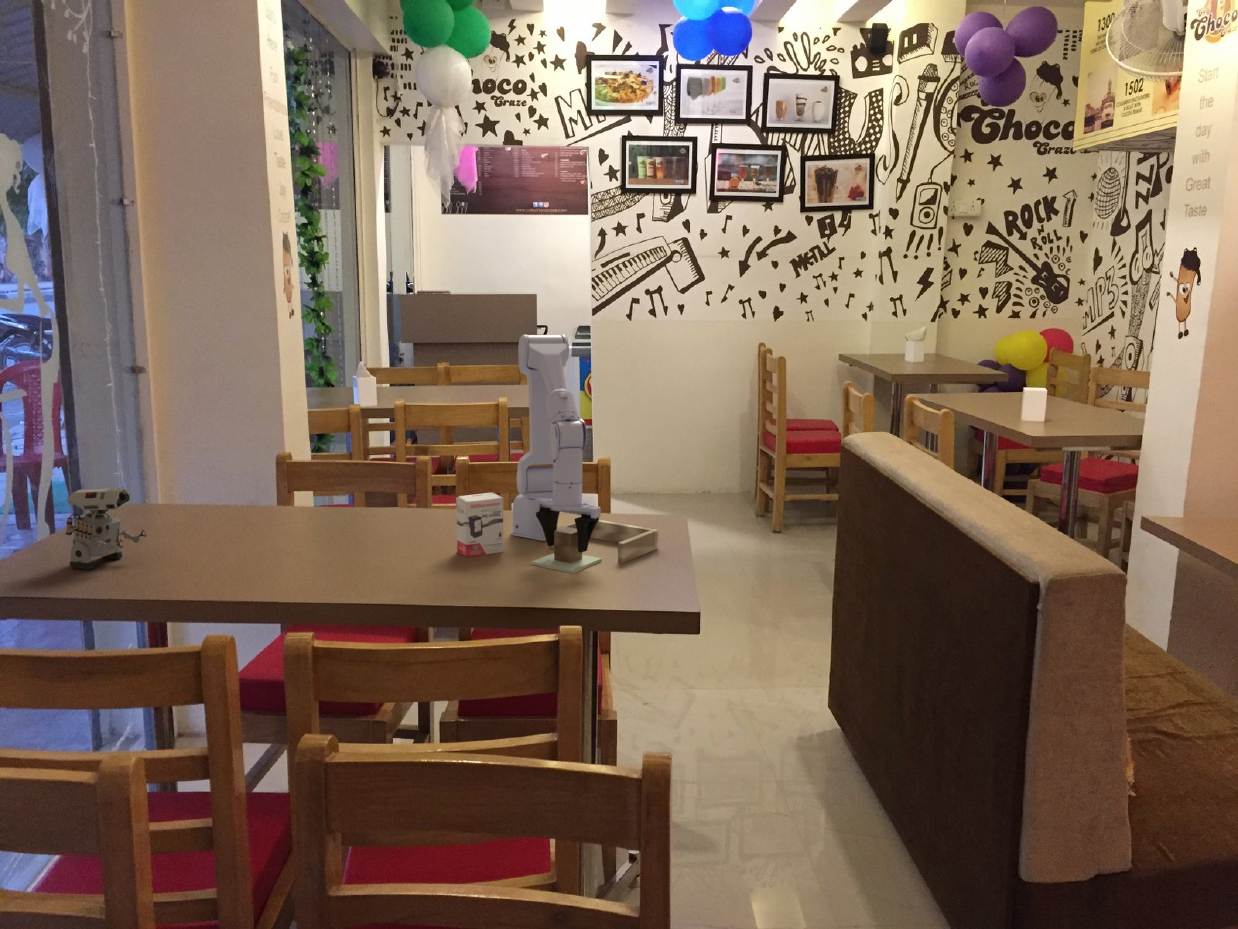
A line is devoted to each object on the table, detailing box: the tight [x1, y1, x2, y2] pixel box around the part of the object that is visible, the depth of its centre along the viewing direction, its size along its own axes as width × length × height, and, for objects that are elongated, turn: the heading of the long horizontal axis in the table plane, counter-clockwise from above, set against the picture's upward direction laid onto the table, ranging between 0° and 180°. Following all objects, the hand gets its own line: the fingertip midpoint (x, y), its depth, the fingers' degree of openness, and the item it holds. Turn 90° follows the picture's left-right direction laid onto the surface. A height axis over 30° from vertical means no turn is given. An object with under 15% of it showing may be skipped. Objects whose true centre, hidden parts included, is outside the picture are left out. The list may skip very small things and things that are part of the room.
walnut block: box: [553, 527, 583, 563], centre depth 199 cm, size 4×4×6 cm
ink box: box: [455, 492, 504, 558], centre depth 205 cm, size 8×5×12 cm, turn 123°
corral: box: [548, 519, 659, 564], centre depth 210 cm, size 18×14×4 cm
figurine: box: [65, 487, 147, 571], centre depth 192 cm, size 9×12×15 cm
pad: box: [531, 552, 603, 574], centre depth 200 cm, size 10×10×1 cm
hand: (567, 548), depth 199 cm, fingers open, 7 cm apart
